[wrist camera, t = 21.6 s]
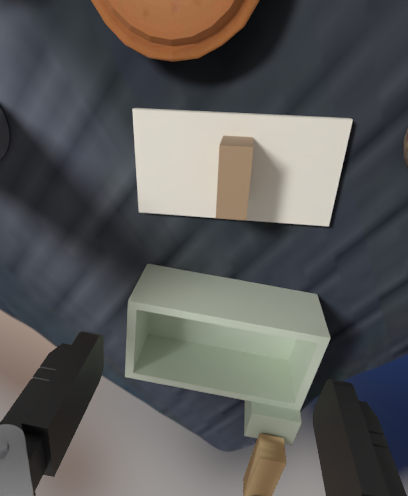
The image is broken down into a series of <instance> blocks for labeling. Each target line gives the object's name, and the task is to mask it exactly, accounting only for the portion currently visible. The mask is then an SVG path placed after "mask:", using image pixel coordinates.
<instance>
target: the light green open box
mask: <svg viewBox="0 0 408 496" xmlns="http://www.w3.org/2000/svg"><path fill="white" fill-rule="evenodd" d="M330 339H331V338H330V334H329V331H328V328H327V325H326V321H325V318H324V315H323V311H322V308H321V305H320V302H319V298H318V295H317V294H313V293H308V292H302V291H297V290H291V289H285V288H280V287H274V286H269V285H263V284H258V283H252V282H247V281H241V280H236V279H230V278H225V277H219V276H214V275H208V274H202V273H197V272H191V271H186V270H180V269H175V268H169V267H164V266H158V265H153V264H147V265H146V267H145V269H144V271H143V273H142V275H141V277H140V279H139V281H138V282H137V284H136V286H135V288H134V290H133V292H132V294H131V296H130V298H129V300H128V313H127V340H126V367H125V377H128V378H133V379H138V380H143V381H149V382H154V383H159V384H164V385H169V386H174V387H180V388H185V389H190V390H195V391H200V392H205V393H210V394H216V395H221V396H226V397H231V398H236V399H241V400H245V426H244V436H248V437H253V438H258V436H259V433H260V434H265V435H270V436H275V437H280V438H284V444H289V445H292V444H293V442H294V439H295V437H296V435H297V432H298V430H299V428H300V425H301V423H302V421H301V415H300V410H301V407H302V405H303V402H304V400H305V398H306V395H307V393H308V391H309V388H310V386H311V384H312V381H313V379H314V376H315V374H316V372H317V369H318V367H319V365H320V362H321V360H322V358H323V355H324V353H325V350H326V348H327V346H328V343H329V341H330Z"/></svg>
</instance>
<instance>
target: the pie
mask: <svg viewBox="0 0 408 496" xmlns="http://www.w3.org/2000/svg"><path fill="white" fill-rule="evenodd" d="M91 1H92V3H93V4H94V6H95V7H96V9H97V11H98V12H99V14H100V15H101V17H102V19H103V20H104V22H105V23H106V25H107V26H108V27H109V28H110V29H111V30H112V31H113V32H114V33H115V34H116V35H117V37H118V38H119V39H120V40H121V41H122V42H123V43H124V44H125V45H126V46H128V47H130V48H132V49H133V50H135V51H137V52H139V53H141V54H143V55H144V56H146V57H148V58H152V59H158V60H165V61H171V62H175V61H182V60H190V59H197V58H200V57H202V56H204V55H206V54H207V53H209V52H211V51H213V50H215V49H217V48H218V47H220V46H222V45H223V44H224V43H226V42H227V41H228V40H229V39H230V38H232V37H233V36H234V35H235V34H236V33H237V32H239V31H240V30H241V29H242V28H243V27H244V26H245V25H246V23H247V21H248V19H249V18H250V16H251V14H252V13H253V11H254V9H255V7H256V6H257V4H258V2H259V1H260V0H91Z"/></svg>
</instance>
